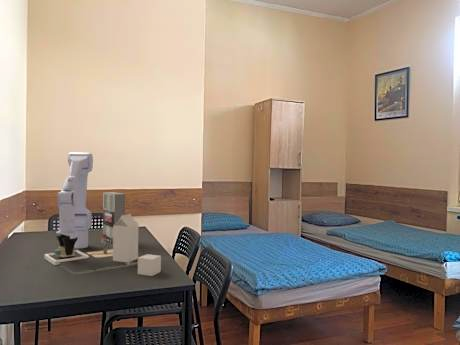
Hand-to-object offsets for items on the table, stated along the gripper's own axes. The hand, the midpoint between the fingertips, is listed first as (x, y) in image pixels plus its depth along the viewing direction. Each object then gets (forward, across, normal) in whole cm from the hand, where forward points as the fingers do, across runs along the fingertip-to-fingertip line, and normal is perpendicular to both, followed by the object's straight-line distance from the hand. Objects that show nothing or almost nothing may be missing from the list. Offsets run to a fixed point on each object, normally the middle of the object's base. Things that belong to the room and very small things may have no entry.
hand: (66, 253), depth 156 cm
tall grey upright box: (+3, -16, +27) cm, 32 cm away
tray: (+2, 0, 0) cm, 2 cm away
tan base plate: (+2, +3, +15) cm, 15 cm away
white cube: (+3, +37, +17) cm, 41 cm away
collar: (+1, 0, -1) cm, 1 cm away
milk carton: (+3, +18, +17) cm, 25 cm away
